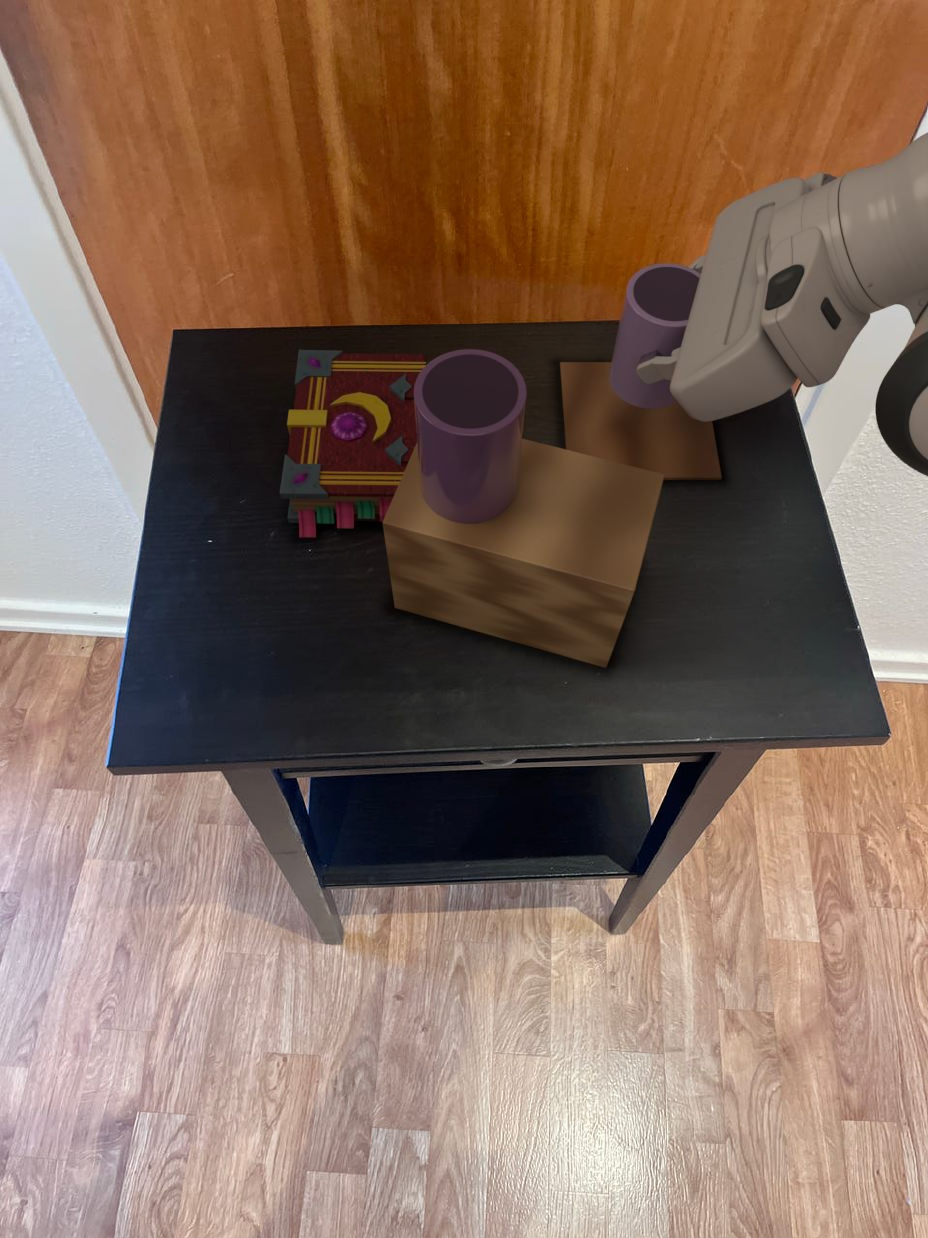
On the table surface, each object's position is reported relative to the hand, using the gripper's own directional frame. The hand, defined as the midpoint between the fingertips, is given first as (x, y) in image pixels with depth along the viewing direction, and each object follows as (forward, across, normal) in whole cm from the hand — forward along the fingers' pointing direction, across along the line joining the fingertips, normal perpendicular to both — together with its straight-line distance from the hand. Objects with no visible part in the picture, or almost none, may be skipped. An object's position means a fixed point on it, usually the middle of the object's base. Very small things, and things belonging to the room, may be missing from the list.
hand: (652, 335), depth 68 cm
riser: (+10, +20, +3) cm, 23 cm away
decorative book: (+22, +12, -8) cm, 26 cm away
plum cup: (+4, +20, -8) cm, 22 cm away
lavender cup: (+3, 0, +4) cm, 5 cm away
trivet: (+6, 0, +7) cm, 10 cm away
